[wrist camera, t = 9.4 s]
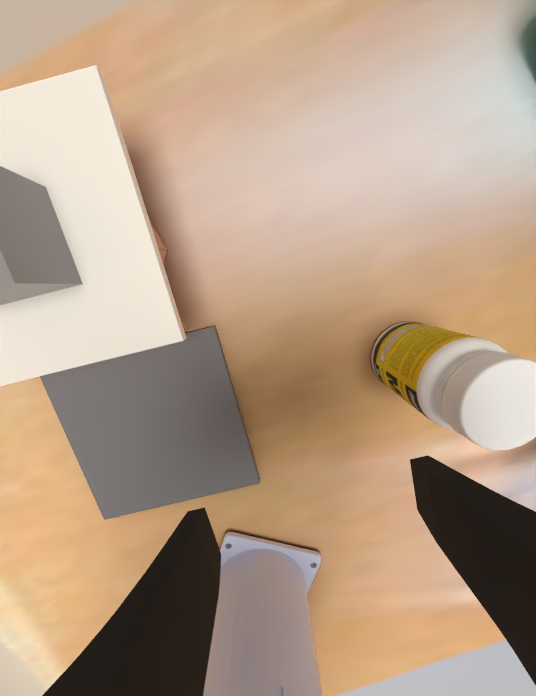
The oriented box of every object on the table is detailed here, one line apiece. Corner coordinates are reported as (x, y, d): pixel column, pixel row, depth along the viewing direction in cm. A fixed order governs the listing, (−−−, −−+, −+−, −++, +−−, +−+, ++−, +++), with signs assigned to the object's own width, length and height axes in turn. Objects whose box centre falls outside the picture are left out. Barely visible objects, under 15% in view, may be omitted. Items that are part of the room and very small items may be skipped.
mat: (259, 478, 21) (259, 483, 21) (107, 514, 21) (104, 519, 21) (215, 325, 18) (213, 326, 18) (43, 368, 19) (37, 370, 18)
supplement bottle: (355, 364, 19) (425, 422, 11) (398, 307, 19) (506, 324, 10) (408, 399, 20) (511, 478, 12) (451, 345, 19) (594, 389, 11)
